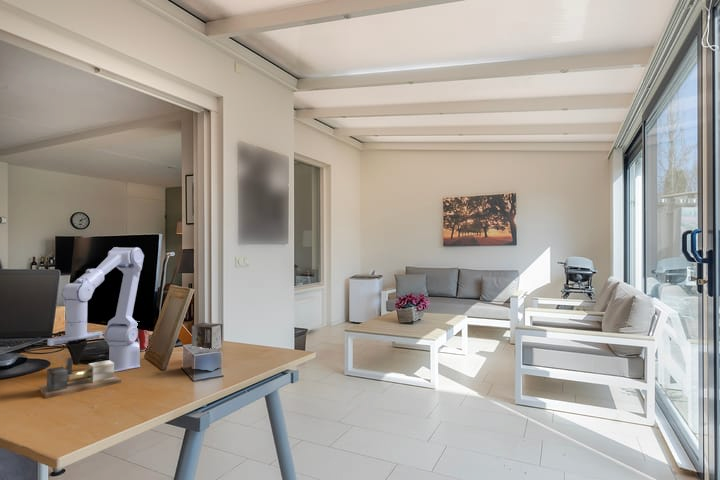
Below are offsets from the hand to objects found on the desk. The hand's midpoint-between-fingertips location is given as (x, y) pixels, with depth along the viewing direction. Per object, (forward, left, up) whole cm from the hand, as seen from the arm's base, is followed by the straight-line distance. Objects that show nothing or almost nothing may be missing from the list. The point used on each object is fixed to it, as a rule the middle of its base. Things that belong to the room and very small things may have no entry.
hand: (75, 364), depth 132 cm
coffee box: (-39, +10, -7) cm, 41 cm away
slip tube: (0, 0, -5) cm, 5 cm away
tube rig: (-2, 0, -7) cm, 7 cm away
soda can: (-32, -34, -7) cm, 47 cm away
